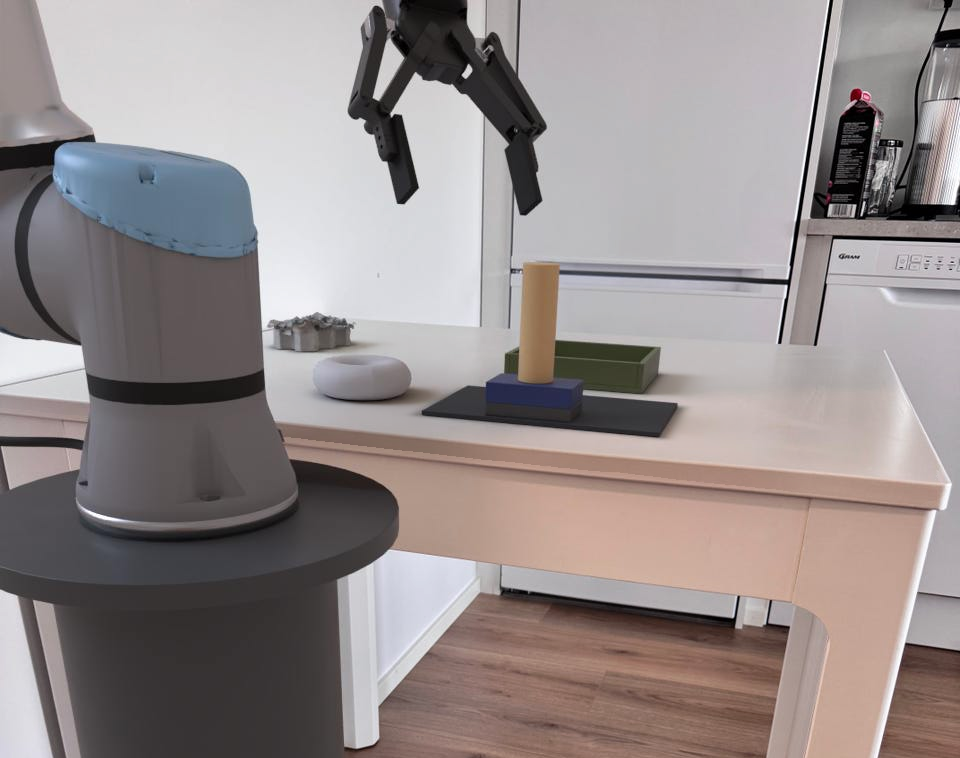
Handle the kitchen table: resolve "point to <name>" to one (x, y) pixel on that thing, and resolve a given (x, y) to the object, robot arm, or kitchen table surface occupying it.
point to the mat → (594, 417)
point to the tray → (600, 365)
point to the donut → (361, 377)
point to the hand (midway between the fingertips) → (472, 202)
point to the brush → (536, 358)
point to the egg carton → (311, 332)
